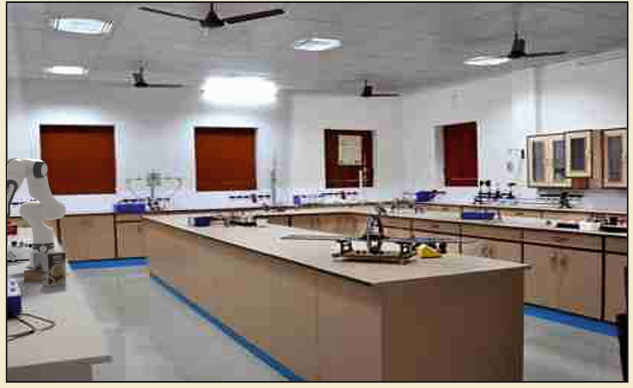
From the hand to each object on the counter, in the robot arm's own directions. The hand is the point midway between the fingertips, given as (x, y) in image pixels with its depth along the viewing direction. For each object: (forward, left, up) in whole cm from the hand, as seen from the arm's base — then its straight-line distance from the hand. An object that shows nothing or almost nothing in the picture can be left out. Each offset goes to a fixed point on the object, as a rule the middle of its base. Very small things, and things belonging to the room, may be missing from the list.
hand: (15, 259), depth 310 cm
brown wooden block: (0, +11, -12) cm, 16 cm away
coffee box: (+19, +18, -12) cm, 29 cm away
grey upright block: (0, +11, -9) cm, 14 cm away
